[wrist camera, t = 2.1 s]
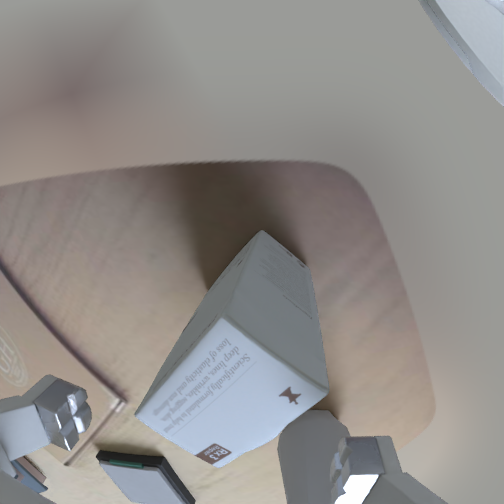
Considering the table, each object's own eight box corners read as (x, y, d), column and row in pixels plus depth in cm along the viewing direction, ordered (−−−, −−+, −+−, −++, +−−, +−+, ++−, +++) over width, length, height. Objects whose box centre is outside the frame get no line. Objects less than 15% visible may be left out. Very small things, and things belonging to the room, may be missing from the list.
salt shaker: (328, 389, 22) (343, 539, 10) (359, 429, 23) (380, 558, 10) (265, 419, 23) (244, 557, 11) (301, 454, 24) (296, 577, 12)
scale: (99, 450, 28) (93, 459, 26) (164, 456, 26) (159, 468, 25) (134, 493, 30) (129, 503, 28) (195, 500, 28) (192, 511, 27)
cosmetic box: (260, 226, 20) (216, 299, 8) (314, 270, 20) (339, 390, 8) (203, 295, 21) (121, 412, 10) (254, 335, 22) (220, 475, 10)
